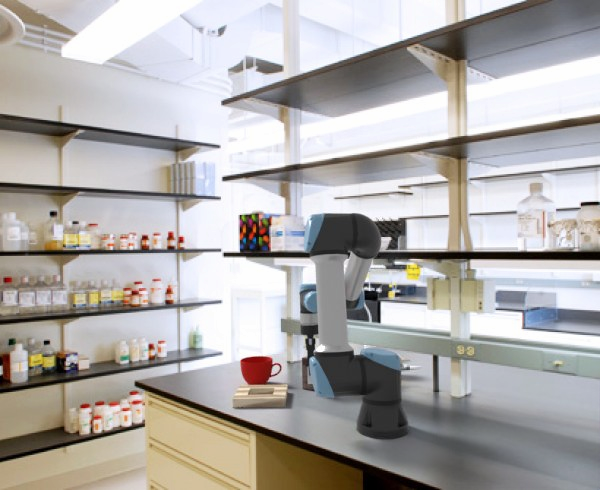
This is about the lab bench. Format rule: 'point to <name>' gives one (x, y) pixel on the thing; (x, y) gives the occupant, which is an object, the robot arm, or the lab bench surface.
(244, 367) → the ceramic cup
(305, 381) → the box
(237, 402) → the shallow beige tray
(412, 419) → the lab bench surface
